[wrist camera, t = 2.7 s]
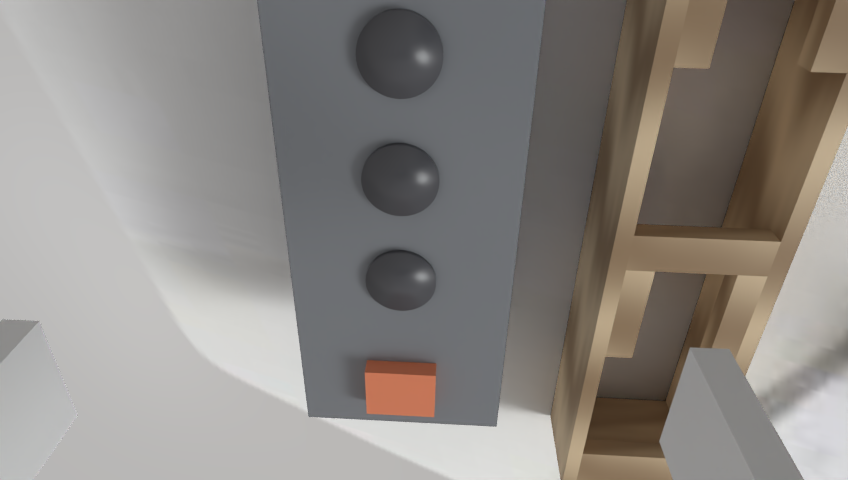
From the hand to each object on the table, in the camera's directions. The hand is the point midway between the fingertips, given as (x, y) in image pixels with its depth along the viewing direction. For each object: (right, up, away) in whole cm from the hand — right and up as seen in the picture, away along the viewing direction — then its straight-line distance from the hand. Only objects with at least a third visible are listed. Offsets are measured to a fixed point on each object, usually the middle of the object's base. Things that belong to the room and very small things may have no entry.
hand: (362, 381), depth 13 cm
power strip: (+1, +7, +10) cm, 12 cm away
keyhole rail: (+11, +5, +11) cm, 16 cm away
